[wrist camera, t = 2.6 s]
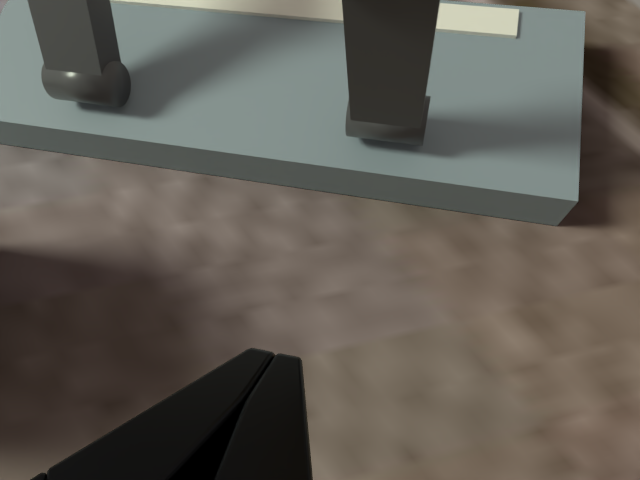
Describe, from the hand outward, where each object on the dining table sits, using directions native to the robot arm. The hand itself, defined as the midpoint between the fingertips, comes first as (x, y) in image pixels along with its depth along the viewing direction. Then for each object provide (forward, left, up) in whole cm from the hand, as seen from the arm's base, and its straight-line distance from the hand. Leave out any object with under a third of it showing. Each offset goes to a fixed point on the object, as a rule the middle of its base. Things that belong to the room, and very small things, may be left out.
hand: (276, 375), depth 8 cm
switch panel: (+12, +12, -13) cm, 21 cm away
